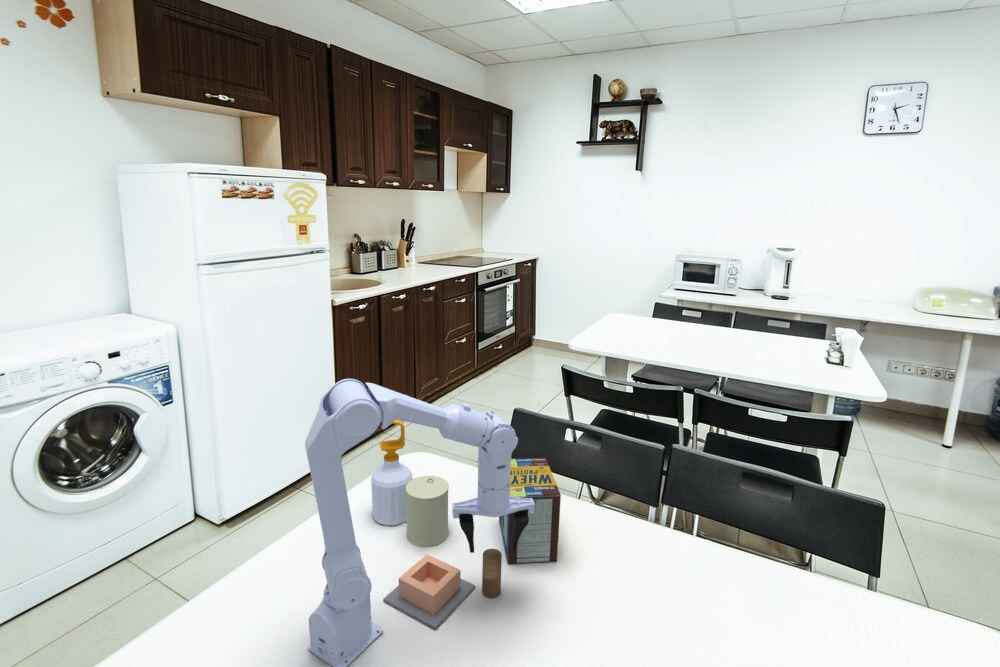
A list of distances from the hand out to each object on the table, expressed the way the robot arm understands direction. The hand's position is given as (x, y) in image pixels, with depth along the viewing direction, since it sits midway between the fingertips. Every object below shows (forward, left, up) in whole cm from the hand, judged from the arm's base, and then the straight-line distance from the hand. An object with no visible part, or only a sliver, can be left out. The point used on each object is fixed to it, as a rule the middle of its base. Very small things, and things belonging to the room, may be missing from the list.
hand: (492, 547), depth 98 cm
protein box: (+17, +2, -10) cm, 20 cm away
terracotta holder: (-7, +9, -10) cm, 15 cm away
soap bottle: (+8, +32, -10) cm, 34 cm away
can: (+7, +21, -10) cm, 24 cm away
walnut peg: (0, 0, -10) cm, 10 cm away
